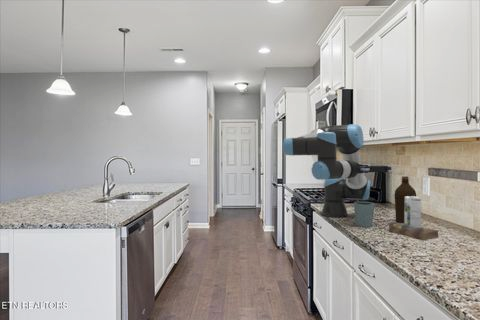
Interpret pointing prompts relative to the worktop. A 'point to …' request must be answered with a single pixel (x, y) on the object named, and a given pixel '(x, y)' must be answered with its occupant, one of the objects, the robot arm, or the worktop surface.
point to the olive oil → (402, 198)
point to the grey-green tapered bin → (364, 214)
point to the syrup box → (412, 211)
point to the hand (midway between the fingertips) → (381, 167)
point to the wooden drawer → (412, 231)
